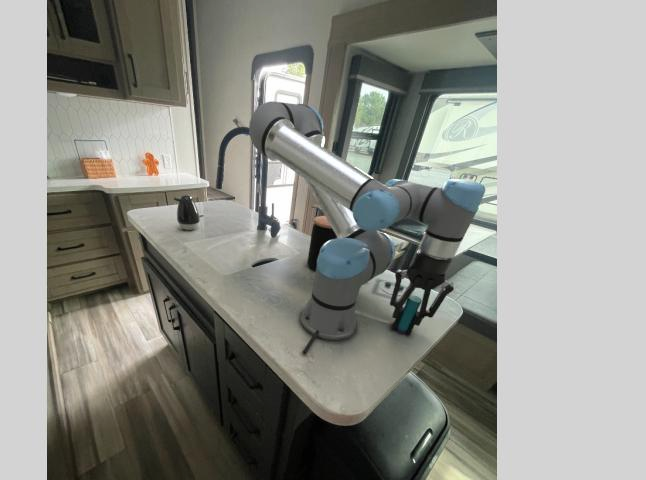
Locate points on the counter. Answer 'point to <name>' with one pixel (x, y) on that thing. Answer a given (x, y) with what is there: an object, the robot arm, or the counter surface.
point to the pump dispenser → (187, 213)
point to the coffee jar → (319, 239)
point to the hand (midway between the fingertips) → (401, 329)
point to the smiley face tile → (386, 292)
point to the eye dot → (388, 284)
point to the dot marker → (408, 314)
